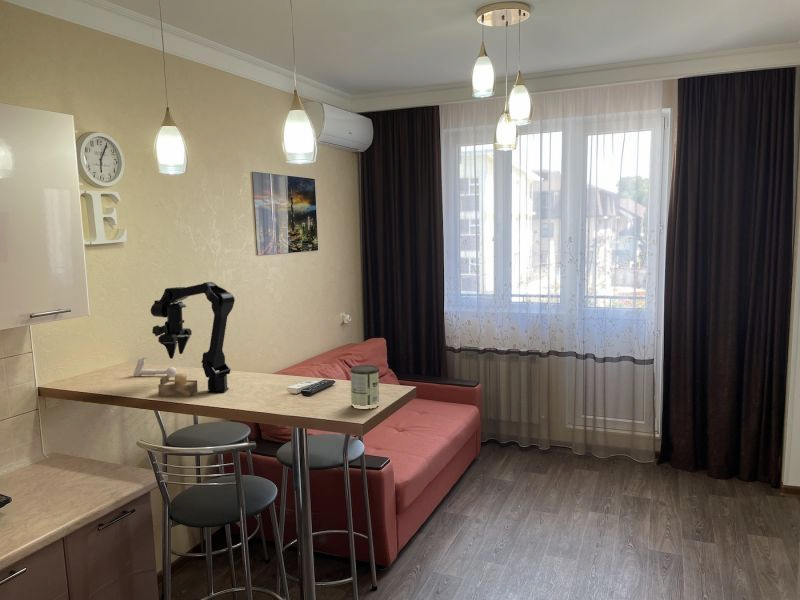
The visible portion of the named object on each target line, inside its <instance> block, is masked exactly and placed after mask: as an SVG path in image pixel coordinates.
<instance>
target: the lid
mask: <svg viewBox="0 0 800 600" xmlns="http://www.w3.org/2000/svg"><path fill="white" fill-rule="evenodd" d="M169 380H170V377H169V376H167V375H165V376H163V377H161V378H160V384H162V385H175V382H169ZM194 384H196V382H187V384H185V385H190V387H191V386H193V385H194Z"/></svg>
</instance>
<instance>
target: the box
mask: <svg viewBox="0 0 800 600" xmlns="http://www.w3.org/2000/svg"><path fill="white" fill-rule="evenodd" d="M169 382H175V379H169ZM187 382H196V384H194V385H193V386H191V387H190V385H162V384H158V385H157V387H158V397H176V396H177V397H178V396H181V397H182V396H183V397H184V398H185V397H187V398H188V397H189V398H190V397H191V396H193V395H195V394H196V393H197V392H198V380H196V379H194V380H193V379H192V380H191V379H190V380H189V379H187ZM183 397H182V398H183ZM178 398H179V397H178Z"/></svg>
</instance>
